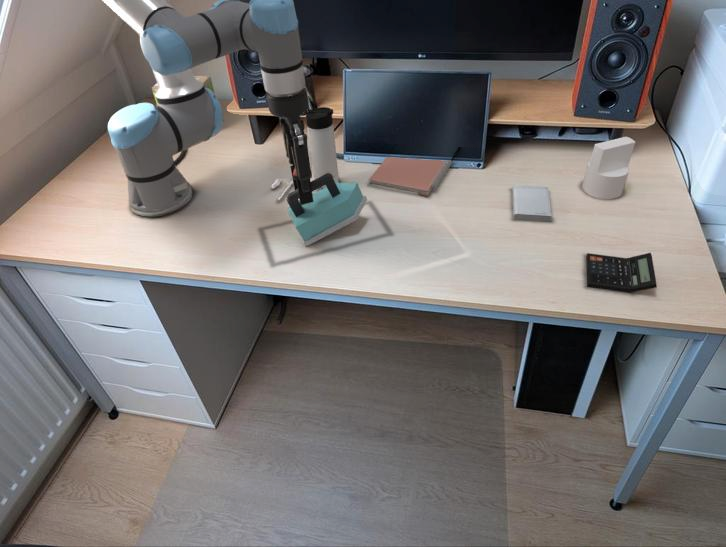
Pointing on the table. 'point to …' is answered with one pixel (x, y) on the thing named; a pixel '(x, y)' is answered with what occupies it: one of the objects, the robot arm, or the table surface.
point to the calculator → (620, 272)
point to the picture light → (278, 185)
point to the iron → (325, 208)
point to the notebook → (411, 174)
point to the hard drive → (531, 203)
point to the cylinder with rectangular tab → (608, 168)
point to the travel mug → (322, 142)
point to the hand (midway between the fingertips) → (304, 196)
